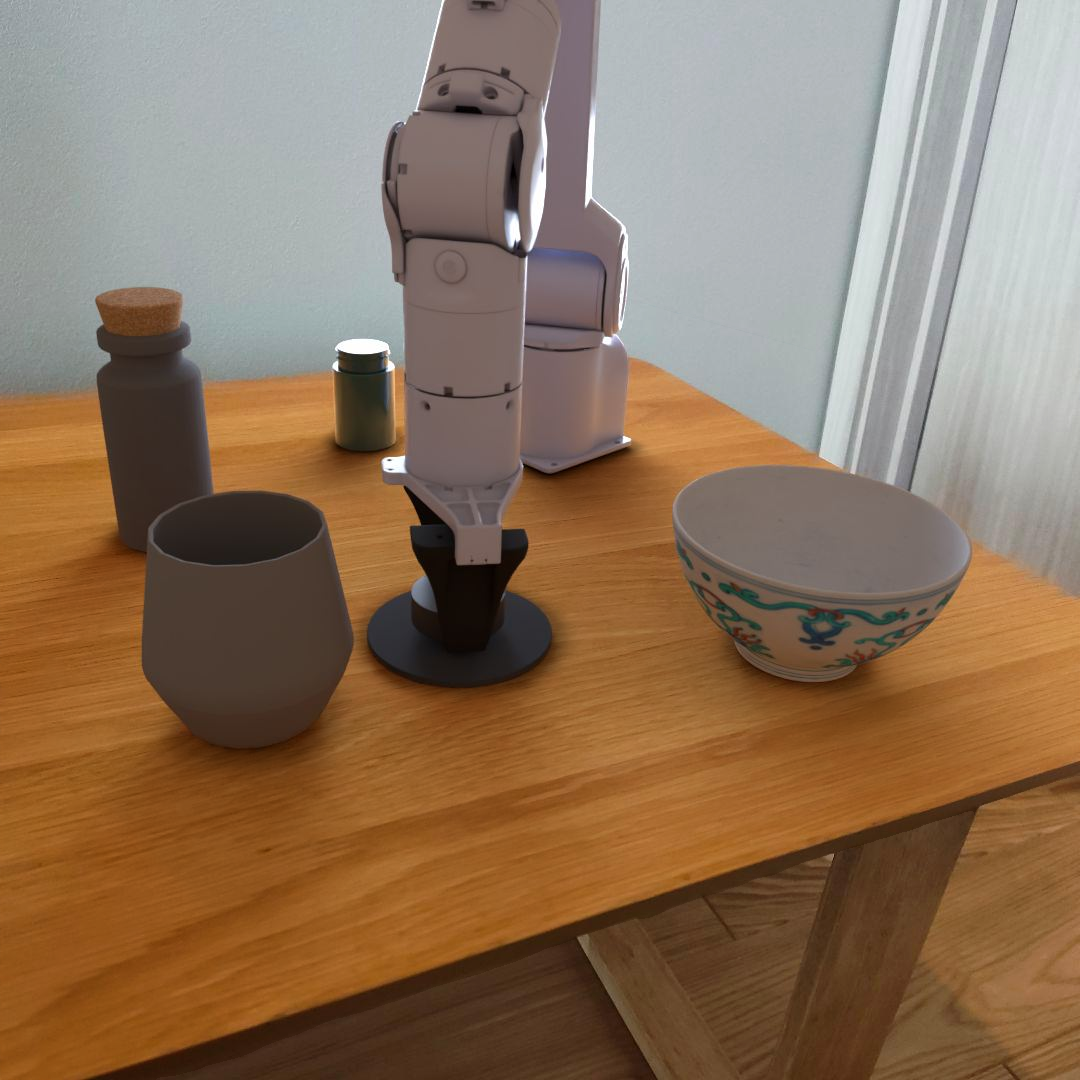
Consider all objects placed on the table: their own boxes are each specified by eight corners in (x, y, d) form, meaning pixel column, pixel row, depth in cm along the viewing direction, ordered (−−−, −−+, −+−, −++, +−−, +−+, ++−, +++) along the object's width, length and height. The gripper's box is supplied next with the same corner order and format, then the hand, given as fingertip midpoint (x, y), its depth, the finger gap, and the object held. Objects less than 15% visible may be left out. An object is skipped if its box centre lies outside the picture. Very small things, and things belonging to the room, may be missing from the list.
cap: (492, 590, 60) (492, 564, 59) (517, 636, 56) (518, 608, 55) (403, 600, 58) (402, 573, 58) (421, 648, 54) (421, 620, 53)
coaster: (468, 572, 64) (468, 566, 64) (589, 639, 58) (590, 633, 58) (329, 629, 58) (329, 623, 57) (449, 712, 51) (449, 705, 51)
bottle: (189, 559, 64) (160, 314, 57) (100, 546, 65) (61, 303, 58) (233, 519, 69) (211, 289, 62) (150, 507, 70) (120, 279, 63)
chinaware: (994, 722, 53) (1034, 587, 49) (705, 742, 50) (725, 601, 47) (864, 576, 66) (888, 461, 62) (630, 586, 63) (641, 467, 60)
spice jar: (370, 425, 85) (367, 333, 82) (407, 441, 82) (406, 347, 79) (323, 439, 82) (318, 344, 79) (360, 456, 79) (357, 359, 76)
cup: (191, 653, 55) (169, 476, 50) (370, 663, 55) (365, 487, 50) (120, 771, 46) (86, 571, 42) (333, 784, 46) (322, 584, 42)
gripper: (374, 336, 57) (380, 560, 63) (386, 435, 44) (391, 703, 50) (504, 335, 58) (497, 555, 64) (552, 432, 45) (538, 694, 51)
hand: (460, 620), depth 57 cm, fingers closed on cap, 5 cm apart
